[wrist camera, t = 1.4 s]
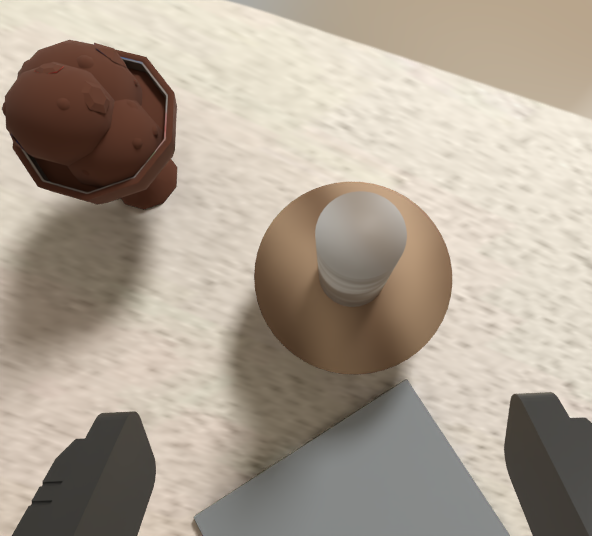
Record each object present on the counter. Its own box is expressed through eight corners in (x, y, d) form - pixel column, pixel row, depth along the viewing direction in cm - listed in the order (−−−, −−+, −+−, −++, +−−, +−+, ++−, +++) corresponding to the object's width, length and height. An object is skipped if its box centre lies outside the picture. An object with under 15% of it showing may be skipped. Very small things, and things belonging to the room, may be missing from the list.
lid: (319, 413, 31) (316, 427, 22) (222, 246, 34) (181, 194, 25) (489, 307, 32) (557, 276, 23) (379, 153, 35) (398, 68, 26)
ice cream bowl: (226, 212, 40) (168, 116, 26) (97, 257, 40) (-37, 186, 25) (191, 103, 43) (119, -41, 28) (69, 145, 42) (-67, 22, 28)
